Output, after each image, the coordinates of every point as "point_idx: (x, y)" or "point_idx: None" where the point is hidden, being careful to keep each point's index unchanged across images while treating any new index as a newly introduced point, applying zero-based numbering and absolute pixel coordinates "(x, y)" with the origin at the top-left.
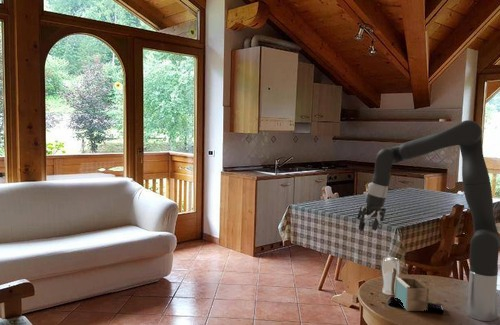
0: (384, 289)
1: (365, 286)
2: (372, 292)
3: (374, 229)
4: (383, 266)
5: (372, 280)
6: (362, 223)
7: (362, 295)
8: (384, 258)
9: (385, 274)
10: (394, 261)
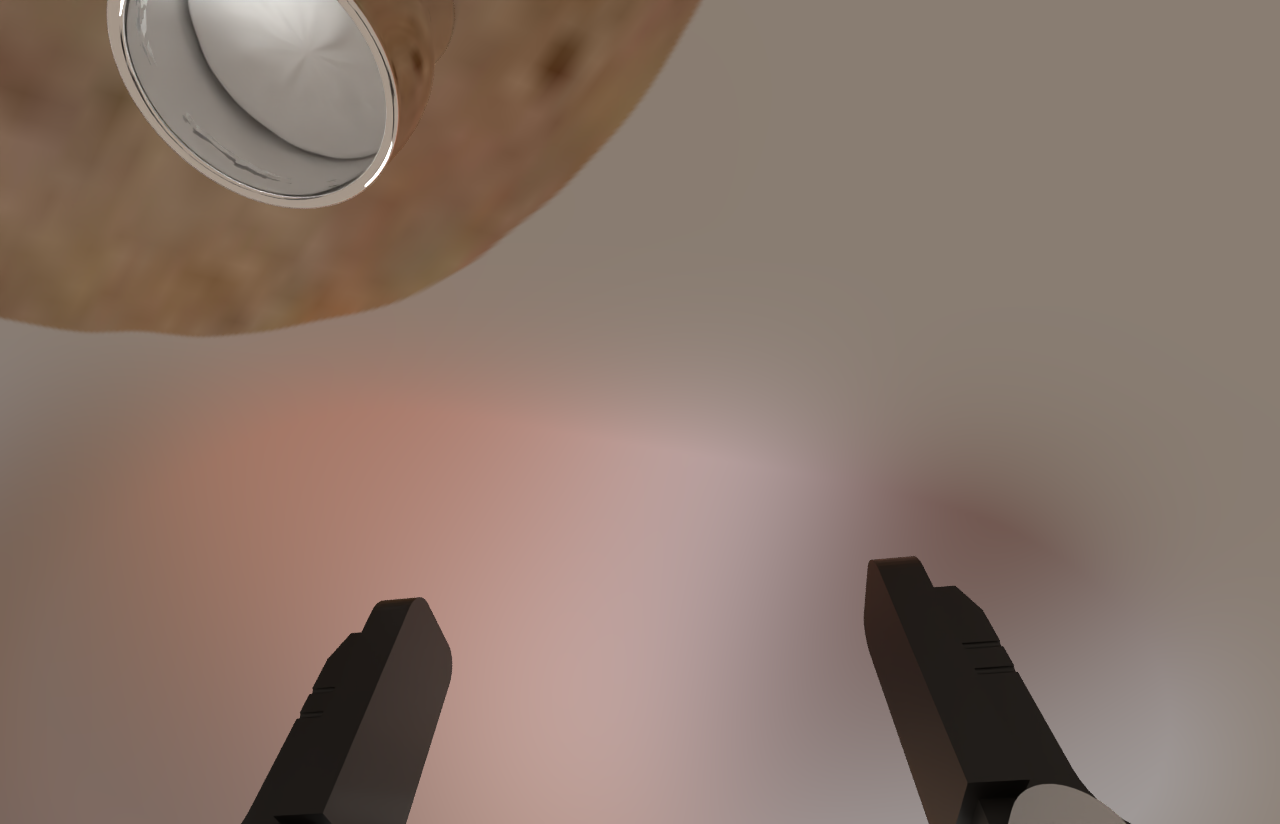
0: (441, 11)
1: (519, 214)
2: (539, 80)
3: (426, 626)
4: (422, 87)
5: (391, 297)
6: (1053, 753)
7: (668, 54)
8: (346, 187)
9: (426, 17)
10: (187, 113)
